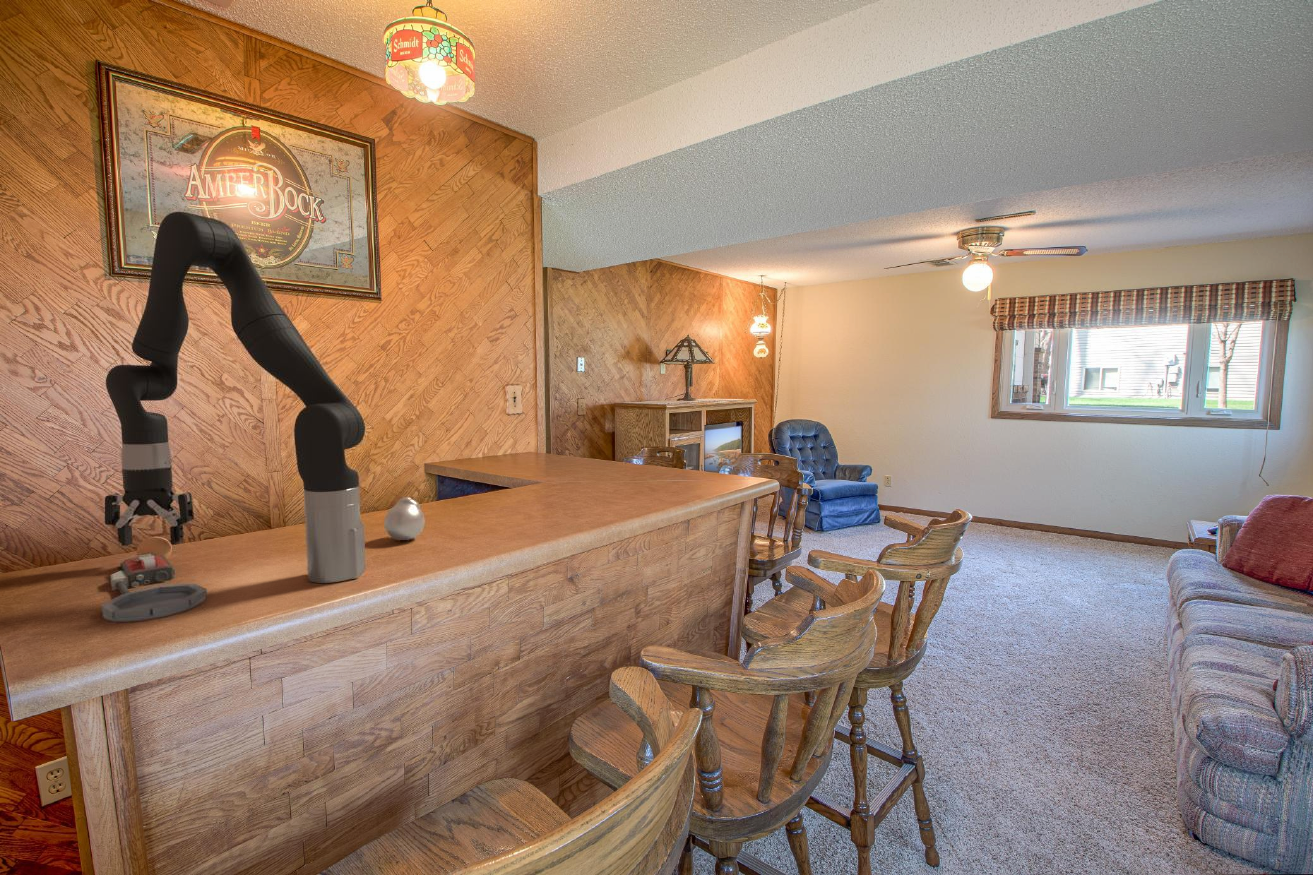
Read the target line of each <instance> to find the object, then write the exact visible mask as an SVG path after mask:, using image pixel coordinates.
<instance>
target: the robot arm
mask: <svg viewBox="0 0 1313 875" xmlns="http://www.w3.org/2000/svg"><path fill="white" fill-rule="evenodd" d="M192 266H194V267H199V268H200V267H201V268H209V269H210V270H211V271H212V272H214V274H215V275H216V276H217V277H218V278H219V280H220V281H221V282H222V284H223V285H224V287H225V288H226V290H227V292H228V295H229V296H230V303H231V304H230V306H231V307H230V321H231V326H232V330H233V332H234V334H235V335H236V337H237V339H238V340H239V341H240V343H241V344H242V346H243V347H244V348H245V350H246V352H247V353H248V355H250V357H251V358H252V359H253V360H254V362H256V363H257V364H258V365H259V366H260V367H261V368H262V369H263V371H266V372H267V373H268V374H270V375H271V376H272V377H273V378H275V379H276V380H278V381H279V382H280V383H282V384H283V385H284V386H286V387H287V388H288V389H290V391H292V392H293V393H294V394H295V395H296V396H297V397H298V398H299V399H300V401H302V403H303V404H304V406H305V407H303V408H302V409H301V410H300V411H299V413H298V414H297V416H296V419H295V422H294V428H293V430H294V431H293V434H294V435H293V437H294V438H293V440H294V448H295V456H296V458H295V459H296V465H297V467H296V468H297V472H298V474H299V477H300V478H301V481H302V483H303V497H304V498H303V499H304V520H305V521H304V523H305V543H306V546H305V547H306V560H307V562H306V563H307V567H306V569H307V570H306V571H307V580H308V581H309V582H311V583H318V584H328V583H338V582H343V581H347V580H348V581H349V580H353V579H355V580H356V579H358V578H360V576H361V575H362V574H363V573H364V571H365V570H366V546H365V542H366V541H365V524H364V523H365V522H363V521H361V504H360V503H361V502H360V501H361V500H360V477H359V473H358V472H357V470H355V469H353V468H350V467H349V466H348V464H347V460H346V454H345V450H349V449H352V448H355V447H356V446H358V445H360V443H361V442H363V439H364V436H365V434H366V433H365V432H366V426H365V421H364V418H363V416H362V414H361V413H360V411H359V410H358V408H357V407H356V406H355V405H354V403H353V402H352V401H351V400H350V399H349V397H347V396H346V394H345V393H344V392H343V391H342V390H341V388H340V387H339V386H338V385H337V384H336V383H335V382H334V380H333V379H332V378H331V377H330V376H329V374H328V373H327V371H326V370H325V368H324V367H323V366H322V364H321V363H320V361H319V360H318V358H317V357H316V356H315V354H314V352H313V351H312V350H311V349H310V346H308V344H307V343H306V341H305V339H303V337H302V335H301V334H300V332H299V330H298V329H297V327H296V326H295V325H294V323H293V322H292V321H291V319H290V318H289V316H288V315H287V313H286V312H285V311H284V309H283V308H282V307H281V305H280V304H279V303H278V301H277V299H276V298H275V297H274V295H273V294H272V292H271V290H270V289H269V287H268V285H267V284H266V283H265V282H264V280H263V279H262V277H261V276H260V274H259V272H258V271H257V268H256V267H255V265H254V263H253V261H252V260H251V257H250V255H249V254H248V252H247V250H246V248H245V246H244V244H243V242H242V241H241V239H240V238H239V236H238V235H237V233H236V232H235V231H234V230H233V229H232V227H231V226H230V225H229V224H227V223H225V222H223V221H222V220H219V219H215V218H212V217H208V216H204V215H200V214H199V215H198V214H196V213H195V214H194V213H190V212H185V211H174V212H170V213H169V214H167V215H165V217H164V218H163V219H162V220H161V222H160V225H159V227H158V230H157V234H156V238H155V244H154V251H153V258H152V265H151V269H150V270H151V271H150V280H149V286H148V294H147V300H146V303H145V308H144V309H143V313H142V316H141V319H140V321H139V324H138V327H137V329H136V332H135V334H134V337H133V339H132V343H131V350H132V353H134V354H135V355H136V356H137V357H139V358H140V359H143V360H144V361H147V362H150V364H149V365H146V364H145V365H144V364H143V365H141V364H140V365H139V364H136V365H135V364H119V365H116V366H113V367H112V368H111V369H110V370H109V371H108V373H107V374H106V377H105V387H106V390H107V394H108V396H109V398H110V400H111V403H112V405H113V407H114V409H115V412H116V415H117V417H118V420H119V422H120V430H121V443H122V444H121V453H120V456H121V472H122V488H123V490H124V494H120V493H117V492H115V493H111V494H108V495H106V496H105V497H104V524H105V525H106V526H113V527H116V528H117V539H118V540H117V541H118V543H119V544H121V547H126V546H130V545H132V544H133V528H132V525H130V524H131V523H132V522H134V520H135V519H136V518H137V517H144V516H151V517H153V516H160V518H162V519H163V520H165V521H166V522H167V523H168V524H170V525H171V526H170V527H169V534H170V535H169V537H170V543H171V545H178V544H180V543H181V541H182V540H184V524H187V523H189V522H192V521H193V520H194V519H195V514H194V506H193V499H192V493H191V492H189V491H186V492H183V493H174V491H173V472H172V471H173V467H172V463H173V460H172V454H171V449H170V443H169V429H168V428H169V426H168V420H167V417H166V416H165V415H164V414H162V413H158V412H152V411H151V412H150V411H147V410H146V409H145V407H144V406H143V404H142V403H141V402H145V401H146V402H148V401H151V402H154V401H163V400H164V401H165V400H167V399H168V398H170V397H172V396H173V394H174V393H175V392H176V390H177V387H178V368H179V367H178V365H179V364H178V363H179V362H178V361H179V360H178V359H179V353H180V351H181V349H182V346H183V344H184V341H185V339H186V337H187V333H188V330H189V322H190V321H189V319H190V318H189V312H188V310H187V305H186V302H185V298H184V292H183V287H184V281H185V278H186V276H187V273H188V272H189V270H190V269H191V267H192ZM174 501H175V503H176V505H178V508H179V511H178V510H177V508H175V506H173V504H172V503H173V502H174ZM123 503H124V504H125V505H126V506H127V508H126V509H125V510H124V512H123V513H122V514H121V505H122V504H123Z"/></svg>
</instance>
